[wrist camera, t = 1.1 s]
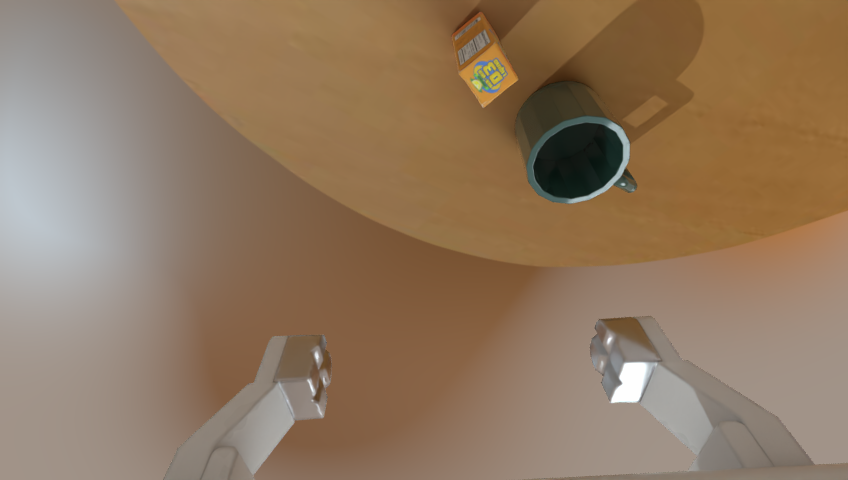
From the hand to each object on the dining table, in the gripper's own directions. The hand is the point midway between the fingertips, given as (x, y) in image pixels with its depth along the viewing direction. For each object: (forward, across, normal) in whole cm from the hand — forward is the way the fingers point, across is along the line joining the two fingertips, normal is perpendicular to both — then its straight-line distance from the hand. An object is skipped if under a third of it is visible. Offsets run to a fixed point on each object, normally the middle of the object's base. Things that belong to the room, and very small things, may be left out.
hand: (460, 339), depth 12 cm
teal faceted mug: (+31, -14, +6) cm, 34 cm away
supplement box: (+31, -4, -3) cm, 31 cm away
